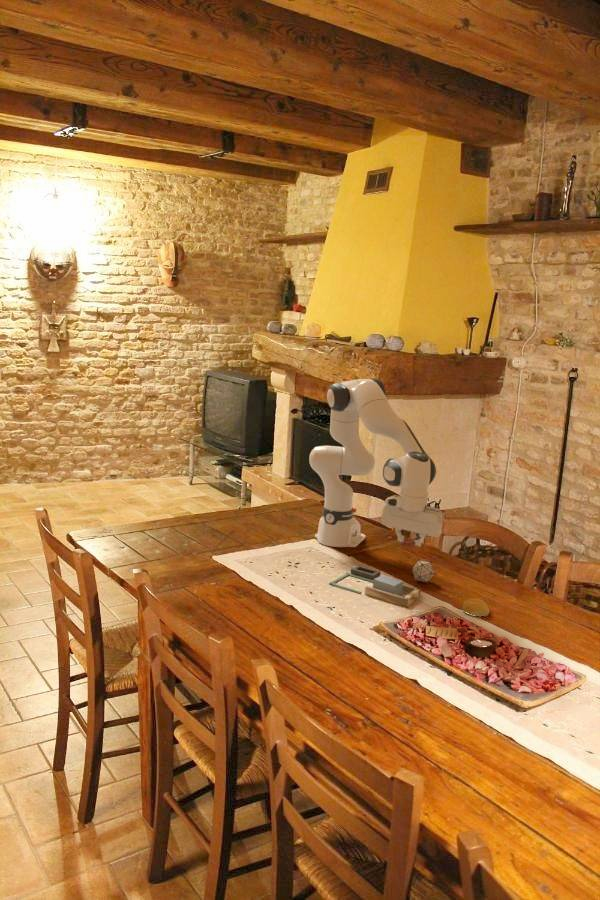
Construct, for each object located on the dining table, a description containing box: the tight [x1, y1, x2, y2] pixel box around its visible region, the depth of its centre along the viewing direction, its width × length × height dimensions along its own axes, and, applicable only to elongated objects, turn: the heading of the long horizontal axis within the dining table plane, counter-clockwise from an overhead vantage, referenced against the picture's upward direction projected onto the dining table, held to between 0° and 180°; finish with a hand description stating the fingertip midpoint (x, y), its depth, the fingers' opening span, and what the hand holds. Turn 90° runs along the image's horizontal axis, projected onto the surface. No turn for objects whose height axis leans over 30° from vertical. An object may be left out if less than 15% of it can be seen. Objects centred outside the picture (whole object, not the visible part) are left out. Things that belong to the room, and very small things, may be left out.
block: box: [372, 574, 404, 596], centre depth 246 cm, size 6×8×5 cm
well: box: [350, 564, 381, 581], centre depth 261 cm, size 5×9×2 cm, turn 57°
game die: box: [409, 557, 437, 585], centre depth 258 cm, size 9×8×10 cm
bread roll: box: [462, 597, 490, 618], centre depth 236 cm, size 8×9×4 cm
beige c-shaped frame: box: [364, 583, 422, 608], centre depth 245 cm, size 11×15×2 cm
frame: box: [328, 572, 373, 594], centre depth 253 cm, size 13×12×1 cm
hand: (409, 543), depth 239 cm, fingers open, 5 cm apart
